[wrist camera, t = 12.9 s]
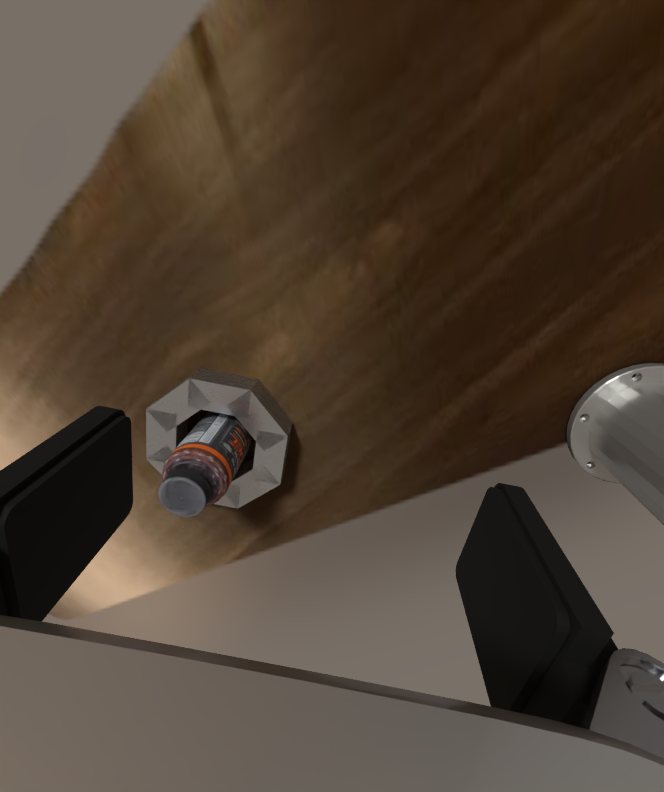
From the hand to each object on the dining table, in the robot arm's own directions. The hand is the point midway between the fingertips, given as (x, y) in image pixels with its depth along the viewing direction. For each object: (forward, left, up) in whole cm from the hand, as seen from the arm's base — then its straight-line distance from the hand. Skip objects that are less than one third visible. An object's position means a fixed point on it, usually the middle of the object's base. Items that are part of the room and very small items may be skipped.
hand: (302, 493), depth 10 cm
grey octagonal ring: (+10, +16, -28) cm, 34 cm away
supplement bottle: (+10, +16, -28) cm, 34 cm away
